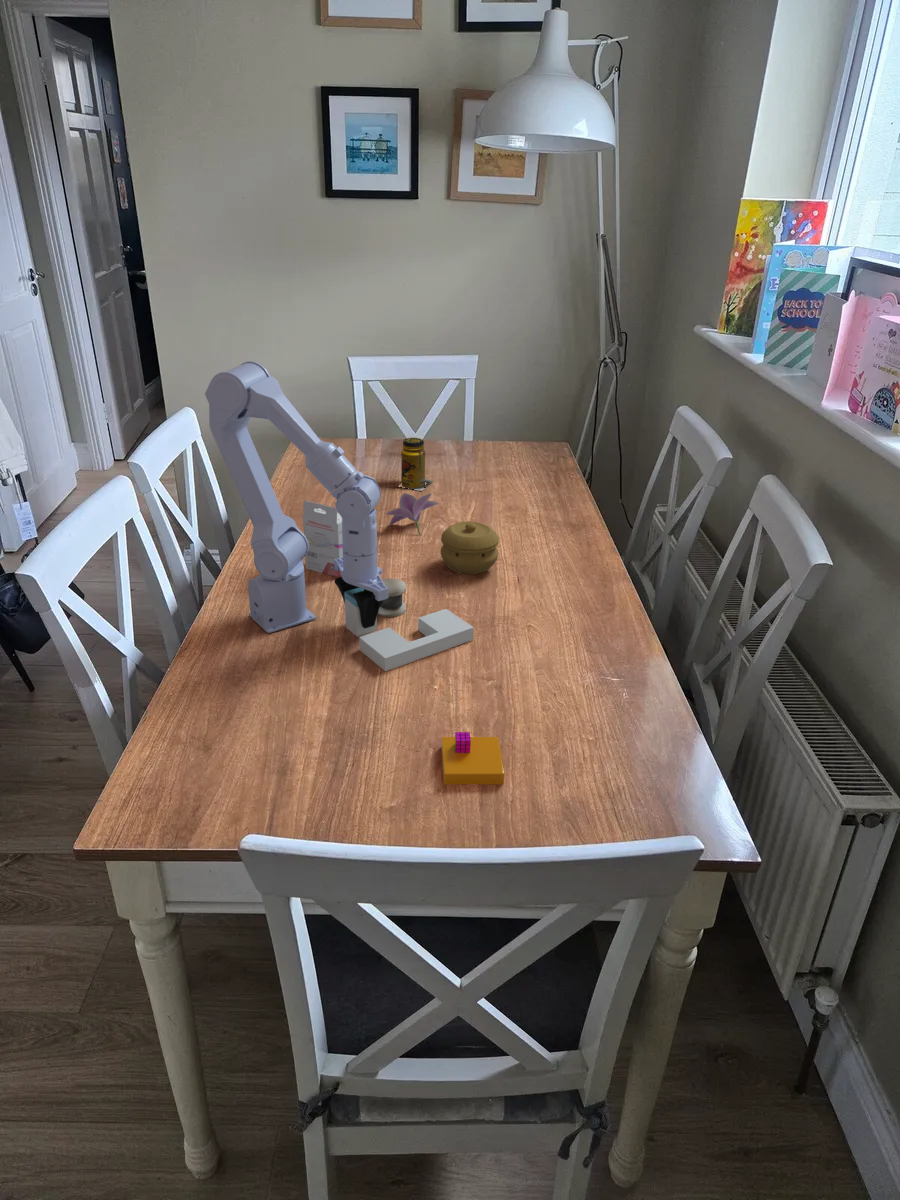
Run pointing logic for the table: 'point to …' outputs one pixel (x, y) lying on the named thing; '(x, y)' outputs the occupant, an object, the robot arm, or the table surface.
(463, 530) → the pot
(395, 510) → the lily
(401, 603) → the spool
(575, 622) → the table surface
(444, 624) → the notched board
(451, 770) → the mustard square tile
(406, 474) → the condiment
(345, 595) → the teal and white block
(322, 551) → the ink cartridge box
